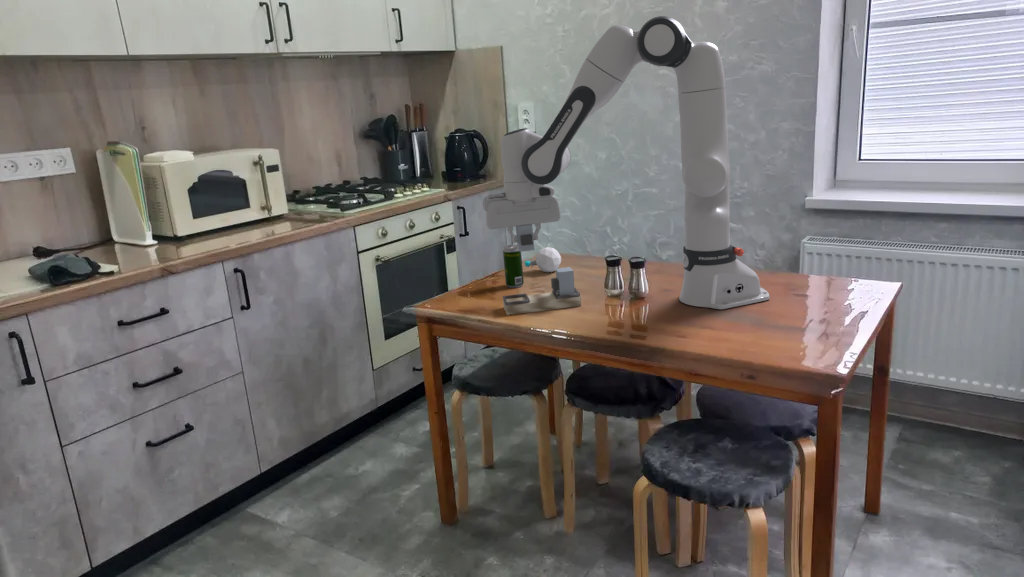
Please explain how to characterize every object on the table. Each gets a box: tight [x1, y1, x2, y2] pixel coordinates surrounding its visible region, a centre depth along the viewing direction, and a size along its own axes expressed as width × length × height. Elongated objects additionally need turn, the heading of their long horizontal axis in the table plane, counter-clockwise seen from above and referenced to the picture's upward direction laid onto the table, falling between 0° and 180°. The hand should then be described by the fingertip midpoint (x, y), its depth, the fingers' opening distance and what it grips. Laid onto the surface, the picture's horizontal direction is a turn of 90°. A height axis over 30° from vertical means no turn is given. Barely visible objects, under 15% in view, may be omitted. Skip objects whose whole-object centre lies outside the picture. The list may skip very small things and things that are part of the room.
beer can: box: [502, 244, 524, 289], centre depth 209 cm, size 5×5×12 cm
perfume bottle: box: [524, 246, 562, 273], centre depth 222 cm, size 8×8×12 cm
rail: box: [502, 287, 582, 316], centre depth 189 cm, size 20×7×3 cm, turn 98°
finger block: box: [515, 224, 535, 253], centre depth 191 cm, size 6×4×7 cm
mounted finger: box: [550, 266, 575, 296], centre depth 188 cm, size 6×4×7 cm
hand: (525, 241), depth 192 cm, fingers closed on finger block, 4 cm apart
